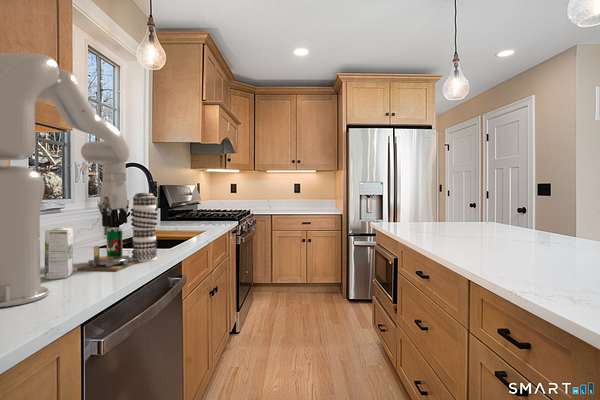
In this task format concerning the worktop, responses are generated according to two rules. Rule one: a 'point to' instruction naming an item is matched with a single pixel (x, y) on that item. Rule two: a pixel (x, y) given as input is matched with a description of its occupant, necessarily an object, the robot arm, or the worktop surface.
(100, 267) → the base board
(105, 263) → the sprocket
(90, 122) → the robot arm
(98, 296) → the worktop surface
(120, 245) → the soda can
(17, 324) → the worktop surface
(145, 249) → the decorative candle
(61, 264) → the syrup box
